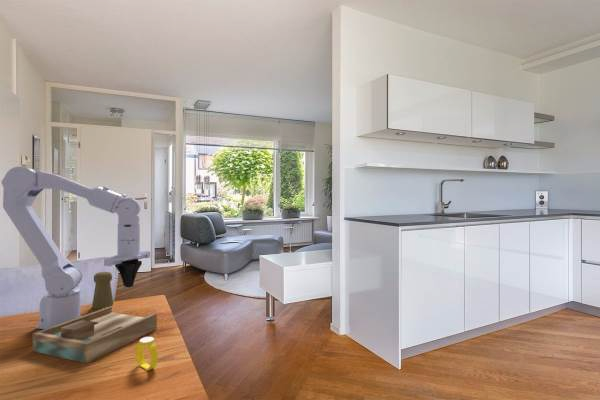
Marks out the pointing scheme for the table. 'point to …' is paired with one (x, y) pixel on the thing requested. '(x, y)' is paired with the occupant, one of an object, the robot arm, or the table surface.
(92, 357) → the board
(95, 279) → the cork
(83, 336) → the walnut block
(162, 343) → the table surface
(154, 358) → the watch
